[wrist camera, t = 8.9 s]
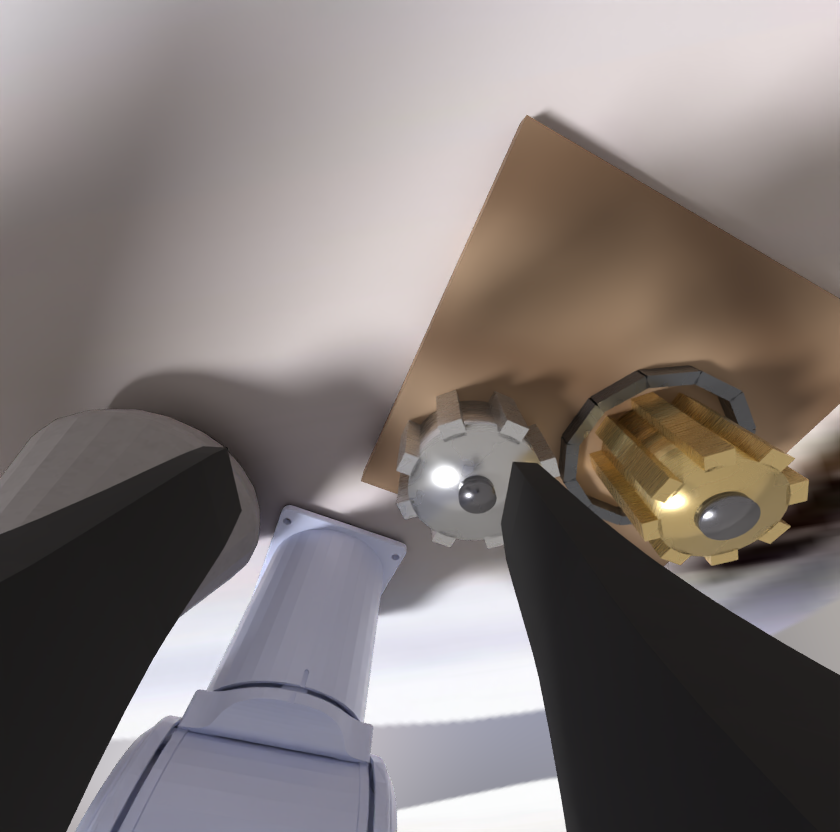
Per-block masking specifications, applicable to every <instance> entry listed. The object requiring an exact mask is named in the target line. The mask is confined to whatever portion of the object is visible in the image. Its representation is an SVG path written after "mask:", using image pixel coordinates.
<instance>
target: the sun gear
mask: <svg viewBox="0 0 840 832" xmlns="http://www.w3.org/2000/svg"><path fill="white" fill-rule="evenodd" d="M436 407H437V410H436V411H435V412H433V413H432V414H431V415H429V416H428V417H427V418H426V419H425V420H424V421H423V422H422V424H421V425H420V424H417V423H415V422H412V421H410V420H408V422H407V424H406V427H405V429H404V431H403V433H402V435H401V439H400V446H399V453H398V461H397V468H396V471H398V472H400V478H399V487H398V495H397V503H396V504H397V506H398V508H399V510H400V512H401V514H402V516H403V518H404V519H405V520H406V519H410V518H413V517H417V516H418V517H419V518H420V520H421V521H422V522H423V523H425V524H426V525H427V526H428V527H430V528H431V535H432V542H435V543H438V544H441V545H444V546H447V547H451V546H452V544H453V543H454V541H455V540H456V539H460V540H470V541H471V540H485V543H486V545H487V548H488V549H490V548H494V547H498V546H502V545H504V543H503V536H502V529H501V520H502V514H503V509H504V504H505V499H506V494H507V489H508V483H509V478H510V473H511V468H512V463H513V462H530V463H538V464H539V465H540V466H542V467H543V468H544V469H545V470H546V471H547V472H549V473H550V474H551V475H552V476H553V477H558V476H560V473H559V469H558V465H557V461H556V458H555V456H554V454H553V452H552V451H551V449H550V447H549V445H548V444H547V442H546V440H545V439H544V437H543V435H542V433H541V432H540V430H539V428H538V427H537V425H536V424H534V425H531V426H527V424H526V422H525V420H524V418H523V416H522V415H521V413H520V411H519V409H518V407H517V405H516V403H515V401H514V399H512V398H510V397H508V396H505V395H503V394H501V393H498V392H496V391H494V393H493V395H492V397H491V398H490V400H489V402H484V401H475V400H471V401H460V400H459V397H458V394H457V391H456V390H454V391H451V392H448V393H445V394H442V395H439V396H436Z"/></svg>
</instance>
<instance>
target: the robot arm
mask: <svg viewBox="0 0 840 832" xmlns="http://www.w3.org/2000/svg"><path fill="white" fill-rule="evenodd" d="M241 511H242V509H241V505H240V500H239V496H238V492H237V487H236V483H235V479H234V475H233V470H232V466H231V462H230V457H229V453H228V449H227V447H209V446H202V447H200V448H197V449H194V450H191V451H189V452H186V453H184V454H182V455H179V456H177V457H175V458H173V459H170V460H168V461H166V462H164V463H162V464H159V465H157V466H155V467H153V468H151V469H149V470H146V471H144V472H142V473H140V474H138V475H136V476H134V477H131V478H129V479H127V480H125V481H123V482H121V483H119V484H116V485H114V486H112V487H110V488H108V489H106V490H103V491H101V492H99V493H97V494H94V495H92V496H90V497H87V498H85V499H83V500H81V501H78V502H76V503H74V504H71V505H69V506H67V507H64V508H62V509H60V510H58V511H55V512H53V513H51V514H48V515H46V516H44V517H42V518H39V519H37V520H34V521H32V522H29V523H27V524H25V525H22V526H20V527H17V528H14V529H12V530H9V531H7V532H4V533H2V534H0V832H66V831H67V829H68V827H69V825H70V823H71V820H72V818H73V816H74V814H75V812H76V810H77V807H78V806H79V803H80V801H81V799H82V797H83V795H84V793H85V791H86V789H87V786H88V784H89V782H90V780H91V778H92V776H93V774H94V771H95V769H96V768H97V766H98V764H99V762H100V760H101V758H102V756H103V754H104V752H105V750H106V748H107V746H108V744H109V742H110V740H111V738H112V736H113V734H114V732H115V730H116V728H117V726H118V724H119V722H120V720H121V718H122V716H123V714H124V712H125V710H126V708H127V706H128V705H129V703H130V701H131V699H132V697H133V695H134V693H135V692H136V690H137V688H138V686H139V684H140V682H141V680H142V678H143V677H144V675H145V673H146V671H147V669H148V667H149V665H150V664H151V662H152V660H153V658H154V657H155V655H156V653H157V652H158V650H159V648H160V647H161V645H162V643H163V642H164V640H165V638H166V637H167V635H168V634H169V632H170V631H171V629H172V627H173V626H174V624H175V623H176V621H177V620H178V618H179V617H180V615H181V614H182V612H183V611H184V609H185V608H186V606H187V605H188V603H189V602H190V600H191V598H192V597H193V595H194V594H195V592H196V591H197V589H198V588H199V586H200V585H201V583H202V582H203V580H204V579H205V577H206V576H207V574H208V572H209V571H210V569H211V568H212V566H213V565H214V563H215V562H216V560H217V558H218V557H219V555H220V554H221V552H222V550H223V549H224V547H225V545H226V543H227V541H228V539H229V537H230V535H231V533H232V531H233V529H234V527H235V525H236V523H237V520H238V518H239V516H240V514H241ZM286 518H288V519H290V520H287V519H286ZM501 529H502V536H503V543H504V549H505V555H506V561H507V564H508V568H509V572H510V575H511V579H512V582H513V586H514V589H515V593H516V597H517V600H518V603H519V607H520V610H521V614H522V617H523V621H524V624H525V628H526V631H527V635H528V638H529V642H530V645H531V649H532V652H533V656H534V660H535V664H536V668H537V672H538V676H539V681H540V686H541V691H542V696H543V701H544V706H545V711H546V717H547V722H548V726H549V732H550V738H551V743H552V749H553V754H554V760H555V765H556V771H557V777H558V782H559V788H560V793H561V799H562V805H563V812H564V818H565V824H566V830H567V832H840V675H839V674H837V673H835V672H833V671H831V670H829V669H828V668H826V667H824V666H822V665H820V664H819V663H817V662H815V661H814V660H812V659H810V658H808V657H807V656H805V655H803V654H801V653H799V652H798V651H796V650H794V649H792V648H791V647H789V646H787V645H785V644H784V643H782V642H780V641H779V640H777V639H775V638H774V637H772V636H770V635H769V634H767V633H765V632H764V631H762V630H761V629H759V628H757V627H756V626H754V625H752V624H751V623H749V622H747V621H746V620H744V619H742V618H741V617H739V616H737V615H736V614H734V613H733V612H731V611H729V610H728V609H726V608H725V607H723V606H721V605H720V604H718V603H717V602H715V601H714V600H712V599H710V598H709V597H707V596H706V595H704V594H703V593H701V592H700V591H698V590H697V589H695V588H694V587H692V586H691V585H690V584H688V583H687V582H685V581H684V580H682V579H681V578H679V577H678V576H676V575H675V574H673V573H672V572H671V571H669V570H668V569H666V568H665V567H663V566H662V565H661V564H659V563H658V562H656V561H655V560H654V559H652V558H651V557H649V556H648V555H647V554H645V553H644V552H643V551H642V550H640V549H639V548H638V547H636V546H635V545H634V544H633V543H631V542H630V541H629V540H627V539H626V538H625V537H623V536H622V535H621V534H620V533H618V532H617V531H616V530H615V529H613V528H612V527H611V526H610V525H608V524H607V523H606V522H605V521H604V520H602V519H601V518H600V517H599V516H598V515H596V514H595V513H594V512H593V511H592V510H591V509H589V508H588V507H587V506H586V505H585V504H584V503H582V502H581V501H580V500H579V499H578V498H577V497H576V496H574V495H573V494H572V493H571V492H570V491H569V490H568V489H567V488H566V487H564V486H563V485H562V484H561V483H560V482H559V481H558V480H557V479H555V478H554V477H553V476H552V475H551V474H550V473H549V472H547V471H546V470H545V469H544V468H543V467H542V466H540V465H539V464H538V463H530V462H513V463H512V468H511V473H510V478H509V483H508V489H507V494H506V499H505V504H504V509H503V514H502V520H501ZM406 551H407V547H406V545H405V544H404V543H402V542H399V541H396V540H393V539H390V538H387V537H384V536H381V535H378V534H375V533H372V532H369V531H366V530H363V529H360V528H358V527H355V526H352V525H349V524H346V523H343V522H340V521H337V520H334V519H331V518H328V517H325V516H322V515H319V514H316V513H313V512H310V511H307V510H304V509H301V508H298V507H295V506H292V505H287V506H285V507H284V508H283V510H282V512H281V514H280V517H279V520H278V523H277V526H276V529H275V532H274V535H273V538H272V541H271V543H270V546H269V549H268V552H267V555H266V558H265V561H264V564H263V567H262V570H261V573H260V576H259V579H258V581H257V584H256V587H255V590H254V593H253V596H252V599H251V601H250V603H249V605H248V607H247V609H246V611H245V613H244V615H243V617H242V619H241V621H240V623H239V625H238V627H237V629H236V631H235V633H234V635H233V637H232V639H231V641H230V643H229V645H228V647H227V649H226V652H225V654H224V656H223V658H222V660H221V662H220V664H219V666H218V668H217V670H216V672H215V674H214V676H213V678H212V680H211V682H210V684H209V686H208V688H207V690H197V691H196V692H195V694H194V696H193V698H192V700H191V702H190V704H189V706H188V708H187V710H186V712H185V714H184V715H183V717H182V718H181V717H176V716H167V717H165V718H163V719H162V720H160V721H159V722H158V723H157V724H156V725H155V726H154V727H152V728H151V729H149V730H148V731H146V732H145V733H143V734H142V735H141V736H139V737H138V738H137V739H136V740H135V741H134V742H133V744H132V745H131V746H130V747H129V748H128V750H127V751H126V752H125V753H124V755H123V756H122V758H121V759H120V760H119V762H118V763H117V764H116V766H115V767H114V769H113V770H112V772H111V773H110V775H109V776H108V778H107V780H106V781H105V782H104V784H103V785H102V787H101V789H100V790H99V792H98V793H97V795H96V797H95V799H94V800H93V801H92V803H91V805H90V806H89V808H88V810H87V811H86V813H85V815H84V817H83V818H82V820H81V822H80V824H79V825H78V827H77V829H76V831H75V832H397V809H396V798H395V791H394V787H393V783H392V781H391V779H390V776H389V774H388V772H387V767H386V765H385V763H384V760H383V759H382V758H381V757H380V756H378V755H373V754H370V752H371V743H372V734H373V726H372V725H371V724H367V723H364V717H365V709H366V702H367V694H368V687H369V679H370V672H371V664H372V657H373V649H374V642H375V635H376V627H377V620H378V612H379V605H380V597H381V595H382V593H383V592H384V590H385V588H386V586H387V585H388V583H389V581H390V580H391V578H392V576H393V575H394V573H395V571H396V570H397V568H398V566H399V565H400V563H401V561H402V560H403V558H404V556H405V554H406ZM394 554H397V555H394Z"/></svg>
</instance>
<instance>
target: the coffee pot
mask: <svg viewBox="0 0 840 832" xmlns="http://www.w3.org/2000/svg"><path fill="white" fill-rule="evenodd" d="M202 446H209V447H223V446H222V445H221V444H220V443H218V442H217V441H215V440H214V439H212V438H211V437H210V436H208V435H207V434H205V433H203V432H202V431H200V430H197V429H195V428H193V427H191V426H189V425H186V424H184V423H182V422H180V421H177V420H175V419H173V418H171V417H168V416H164V415H160V414H155V413H151V412H147V411H143V410H131V409H104V410H89V411H85V412H81V413H77V414H74V415H70V416H66V417H62V418H59V419H56V420H54V421H53V422H51V423H50V424H49V425H47V426H46V427H44V428H43V429H42V430H40V431H39V432H37V433H36V434H35V435H33V436H32V437H31V438H30V439H29V441H28V442H27V443H26V445H25V446H24V447H23V449H22V450H21V451H20V452H19V454H18V455H17V456H16V458H15V459H14V460H13V462H12V463H11V464H10V466H9V467H8V468H7V470H6V471H5V472H4V474H3V475H2V476H1V478H0V534H2V533H4V532H7V531H9V530H12V529H14V528H17V527H20V526H22V525H25V524H27V523H29V522H32V521H34V520H37V519H39V518H42V517H44V516H46V515H48V514H51V513H53V512H55V511H58V510H60V509H62V508H64V507H67V506H69V505H71V504H74V503H76V502H78V501H81V500H83V499H85V498H87V497H90V496H92V495H94V494H97V493H99V492H101V491H103V490H106V489H108V488H110V487H112V486H114V485H116V484H119V483H121V482H123V481H125V480H127V479H129V478H131V477H134V476H136V475H138V474H140V473H142V472H144V471H146V470H149V469H151V468H153V467H155V466H157V465H159V464H162V463H164V462H166V461H168V460H170V459H173V458H175V457H177V456H179V455H182V454H184V453H186V452H189V451H191V450H194V449H197V448H200V447H202ZM228 453H229V452H228ZM229 457H230V462H231V466H232V470H233V475H234V479H235V483H236V487H237V492H238V496H239V500H240V505H241V509H242V511H241V514H240V516H239V518H238V520H237V523H236V525H235V527H234V529H233V531H232V533H231V535H230V537H229V539H228V541H227V543H226V545H225V547H224V549H223V550H222V552H221V554H220V555H219V557H218V558H217V560H216V562H215V563H214V565H213V566H212V568H211V569H210V571H209V572H208V574H207V576H206V577H205V579H204V580H203V582H202V583H201V585H200V586H199V588H198V589H197V591H196V592H195V594H194V595H193V597H192V598H191V600H190V602H189V603H188V605H187V606H186V608H185V609H184V611H183V612H182V614H181V615H180V616H182V615H183V614H184V613H186V612H187V611H188V610H190V609H191V608H192V607H194V606H195V605H196V604H198V603H199V602H200V601H202V600H203V599H204V598H205V597H207V596H208V595H209V594H211V593H212V592H213V591H215V590H216V589H217V588H219V587H220V586H221V585H223V584H224V583H225V582H227V581H228V580H229V579H231V578H232V577H233V576H234V575H235V574H236V573H237V572H238V571H240V570H241V569H242V568H243V567H244V566H245V565H246V564H247V563H248V562H249V560H250V558H251V556H252V554H253V552H254V550H255V548H256V546H257V543H258V538H259V526H260V508H259V504H258V500H257V496H256V493H255V489H254V487H253V485H252V484H251V482H250V480H249V478H248V477H247V475H246V473H245V472H244V470H243V468H242V467H241V465H240V464H239V463H238V462H237V461H236V460H235V458H234V457H233V456H232V455H231V454H230V453H229Z"/></svg>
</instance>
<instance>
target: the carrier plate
mask: <svg viewBox="0 0 840 832" xmlns="http://www.w3.org/2000/svg"><path fill="white" fill-rule="evenodd" d="M686 365H689V366H693V367H695V368H697V369H699V370H701V371H703V372H705V373H707V374H709V375H711V376H713V377H715V378H717V379H719V380H721V381H723V382H725V383H727V384H729V385H731V386H733V387H735V388H737V389H739V390H741V391H742V392H743V393H744V395H745V398H746V401H747V404H748V407H749V409H750V412H751V415H752V418H753V420H754V423H755V426H756V428H755V429H756V432H755V435H757V436H758V437H760V438H762V439H763V440H765V441H767V442H768V443H770V444H772V445H773V446H775V447H777V448H778V449H780V450H782V451H783V452H785V453H787V452H788V451H789V450H790V449H791V448H792V447H793V446H794V445H796V444H797V443H798V442H799V441H800V440H801V439H802V438H803V437H804V436H805V435H806V434H807V433H809V432H810V431H811V430H812V429H813V428H814V427H815V426H816V425H817V424H818V423H819V422H820V421H822V420H823V419H824V418H825V417H826V416H827V415H828V414H829V413H830V412H831V411H832V410H833V409H835V408H836V407H837V406H838V405H839V404H840V299H839V298H838V297H836V296H834V295H832V294H831V293H829V292H827V291H826V290H824V289H822V288H821V287H819V286H817V285H815V284H814V283H812V282H810V281H809V280H807V279H805V278H804V277H802V276H800V275H798V274H797V273H795V272H793V271H792V270H790V269H788V268H787V267H785V266H783V265H781V264H780V263H778V262H776V261H775V260H773V259H771V258H770V257H768V256H766V255H764V254H763V253H761V252H759V251H758V250H756V249H754V248H752V247H751V246H749V245H747V244H746V243H744V242H742V241H741V240H739V239H737V238H735V237H734V236H732V235H730V234H729V233H727V232H725V231H724V230H722V229H720V228H718V227H717V226H715V225H713V224H712V223H710V222H708V221H707V220H705V219H703V218H701V217H700V216H698V215H696V214H695V213H693V212H691V211H690V210H688V209H686V208H684V207H683V206H681V205H679V204H678V203H676V202H674V201H673V200H671V199H669V198H667V197H666V196H664V195H662V194H661V193H659V192H657V191H655V190H654V189H652V188H650V187H649V186H647V185H645V184H644V183H642V182H640V181H638V180H637V179H635V178H633V177H632V176H630V175H628V174H627V173H625V172H623V171H621V170H620V169H618V168H616V167H615V166H613V165H611V164H610V163H608V162H606V161H604V160H603V159H601V158H599V157H598V156H596V155H594V154H593V153H591V152H589V151H587V150H586V149H584V148H582V147H581V146H579V145H577V144H576V143H574V142H572V141H570V140H569V139H567V138H565V137H564V136H562V135H560V134H558V133H557V132H555V131H553V130H552V129H550V128H548V127H547V126H545V125H543V124H541V123H540V122H538V121H536V120H535V119H533V118H531V117H530V116H528V115H526V117H525V118H524V119H523V120H522V122H521V123H520V125H519V127H518V129H517V132H516V134H515V136H514V138H513V140H512V143H511V145H510V147H509V149H508V152H507V154H506V156H505V158H504V160H503V163H502V165H501V167H500V169H499V172H498V174H497V176H496V178H495V180H494V183H493V185H492V187H491V189H490V192H489V194H488V196H487V198H486V200H485V203H484V205H483V207H482V209H481V212H480V214H479V216H478V218H477V220H476V223H475V225H474V227H473V229H472V232H471V234H470V236H469V238H468V240H467V243H466V245H465V247H464V249H463V252H462V254H461V256H460V258H459V260H458V263H457V265H456V267H455V269H454V272H453V274H452V276H451V278H450V280H449V283H448V285H447V287H446V289H445V292H444V294H443V296H442V298H441V300H440V303H439V305H438V307H437V309H436V312H435V314H434V316H433V318H432V320H431V323H430V325H429V327H428V329H427V332H426V334H425V336H424V338H423V340H422V343H421V345H420V347H419V349H418V352H417V354H416V356H415V358H414V360H413V363H412V365H411V367H410V369H409V372H408V374H407V376H406V378H405V380H404V383H403V385H402V387H401V389H400V392H399V394H398V396H397V398H396V400H395V403H394V405H393V407H392V409H391V412H390V414H389V416H388V418H387V420H386V423H385V425H384V427H383V429H382V432H381V434H380V436H379V438H378V440H377V443H376V445H375V447H374V449H373V452H372V454H371V456H370V458H369V460H368V463H367V465H366V467H365V469H364V472H363V476H362V479H361V481H362V482H365V483H368V484H371V485H373V486H376V487H379V488H382V489H385V490H387V491H390V492H393V493H396V494H398V487H399V478H400V472H398V471H396V468H397V461H398V453H399V446H400V439H401V435H402V433H403V431H404V429H405V427H406V424H407V422H408V420H410V421H412V422H415V423H417V424H420V425H421V424H422V422H423V421H424V420H425V419H426V418H427V417H428V416H429V415H431V414H432V413H433V412H435V411H436V410H437V407H436V396H439V395H442V394H445V393H448V392H451V391H454V390H456V391H457V394H458V397H459V400H460V401H471V400H475V401H484V402H489V400H490V398H491V397H492V395H493V393H494V391H496V392H498V393H501V394H503V395H505V396H508V397H510V398H512V399H514V401H515V403H516V405H517V407H518V409H519V411H520V413H521V415H522V416H523V418H524V420H525V422H526V424H527V426H531V425H534V424H536V425H537V427H538V428H539V430H540V432H541V433H542V435H543V437H544V439H545V440H546V442H547V444H548V445H549V447H550V449H551V451H552V452H553V454H554V456H555V458H556V461H557V465H558V469H559V458H560V446H561V437H563V436H562V434H563V433H564V431H565V430H566V428H567V427H568V426H569V424H570V423H571V422H572V420H573V419H574V417H575V416H576V415H577V413H578V412H579V410H580V409H581V408H582V406H583V405H584V404H585V402H586V401H587V399H588V398H589V399H591V397H590V396H592V395H594V394H595V393H597V392H599V391H601V390H603V389H604V388H606V387H608V386H610V385H611V384H613V383H615V382H617V381H618V380H620V379H622V378H624V377H625V376H627V375H629V374H631V373H632V372H634V371H637V372H638V370H642V369H653V368H664V367H675V366H686ZM650 392H653V393H655V394H656V395H658V396H659V397H661V398H662V399H664V400H665V401H667V402H668V403H671V402H672V401H673V400H674V398H675V397H676V396H677V395H678V394H679V392H681V393H683V394H685V395H687V396H690V397H692V398H694V399H696V400H698V401H700V402H701V403H703V404H705V405H706V406H708V407H710V408H711V409H713V410H715V411H716V412H718V413H720V414H721V415H723V416H725V414H724V411H723V409H722V406H721V404H720V401H719V399H718V396H717V395H716V394H714V393H712V392H709V391H707V390H705V389H703V388H701V387H699V386H697V385H695V384H693V385H682V386H671V387H659V388H648V389H646V390H644V391H642V392H641V393H639V394H637V395H635V396H633V397H631V398H630V399H632V398H635V397H638V396H641V395H644V394H647V393H650ZM630 399H628V400H626V401H624V402H622V403H621V404H619V405H617V406H615V407H613V408H611V409H610V410H608V411H606V412H605V413H604V414H603V415H602V417H601V418H600V419H599V421H598V422H597V423H596V425H595V426H594V427H593V429H592V430H591V431H590V433H589V434H588V435H587V436H586V438H585V439H584V440H583V442H582V443H581V444H580V446H579V454H578V464H577V473H576V480H577V481H578V483H579V484H580V486H581V487H582V489H583V490H584V492H585V493H586V495H588V496H591V497H593V498H596V499H599V500H601V501H604V502H606V503H609V504H611V505H614V506H616V507H617V506H619V505H618V503H617V502H616V501H615V499H614V498H613V496H612V495H611V494H610V492H609V491H608V489H607V488H606V487H605V485H604V484H603V482H602V481H601V480H600V478H599V477H598V476H597V474H596V473H595V471H594V470H593V468H592V464H591V460H590V455H589V454H590V453H593V452H596V451H600V450H601V447H602V443H603V441H602V440H601V439H600V438H599V437H598V436H597V434H596V433H595V431H596V430H597V428H598V427H599V426H600V424H601V423H602V422H603V420H604V419H605V417H606V416H609V417H611V418H614V419H616V420H618V419H619V418H620V417H622V416H623V415H624V414H626V413H627V412H629V411H631V410H632V407H631V401H630ZM554 478H555V479H557V480H558V481H559V482H560V483H561V484H562V485H563V486H564V487H566V486H565V484H564V483H563V481H562V479H561V477H560V476H558V477H554ZM566 488H567V487H566ZM602 520H604V519H602ZM604 521H605V522H606V523H607V524H608V525H610V526H611V527H612V528H613V529H615V530H616V531H617V532H618V533H620V534H621V535H622V536H623V537H625V538H626V539H627V540H629V541H630V542H631V543H633V544H634V545H635V546H636V547H638V548H639V549H640V550H642V551H643V552H644V553H645V554H647V555H648V556H649V557H651V558H652V559H654V560H655V561H656V562H658V563H659V564H661V565H662V566H665V565H666V564H667V563H668V562H669V561H667V560H664V559H662V558H660V556H659V555H658V554H657V552H656V551H655V550H654V548H653V547H652V546H651V544H650V543H649V541H646V542H645V541H644V540H643V538H642V537H641V536H640V534H639V533H638V531H637V530H636V529H635V527H634V526H633V524H632V525H619V524H618V525H616V524H614V523H611V522H609V521H606V520H604Z"/></svg>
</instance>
